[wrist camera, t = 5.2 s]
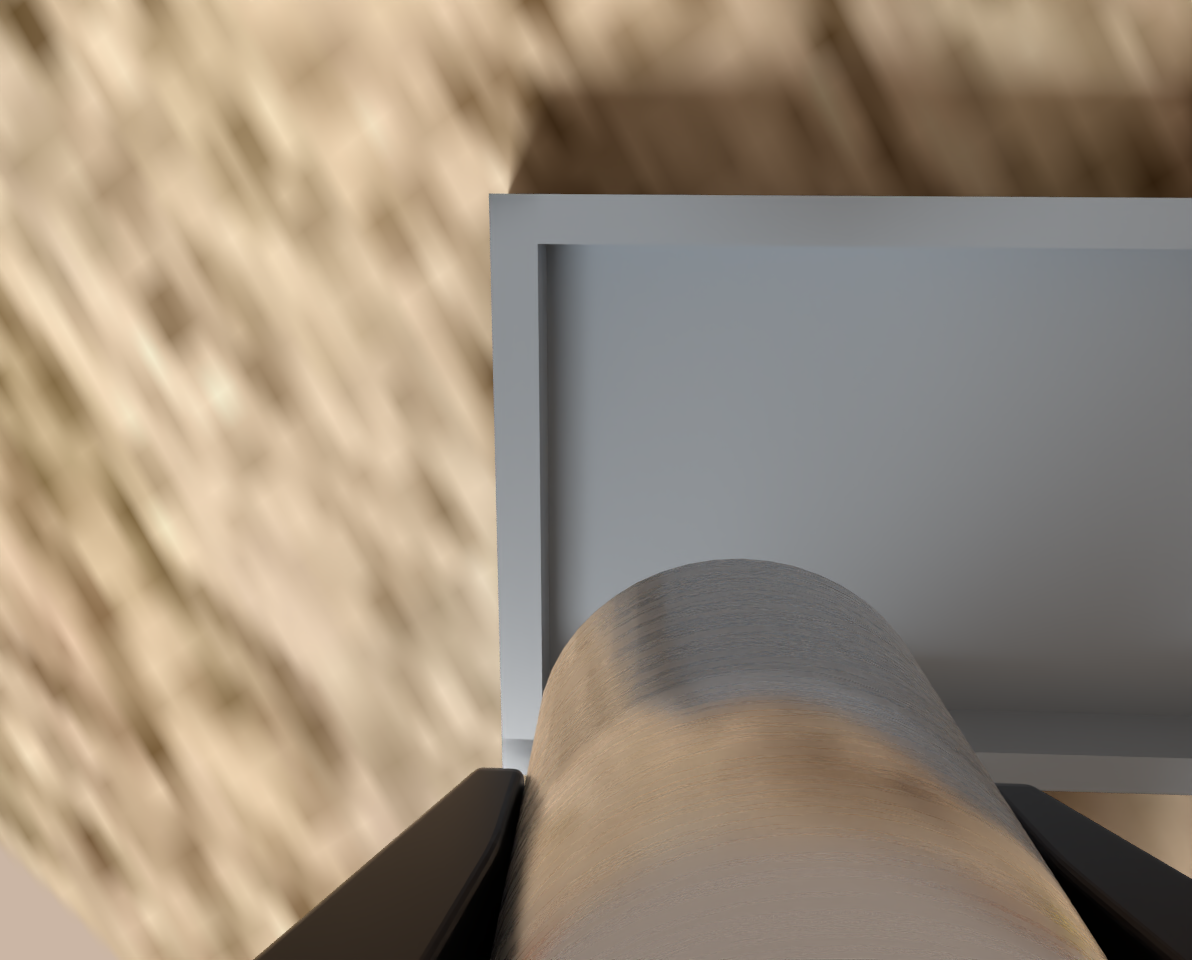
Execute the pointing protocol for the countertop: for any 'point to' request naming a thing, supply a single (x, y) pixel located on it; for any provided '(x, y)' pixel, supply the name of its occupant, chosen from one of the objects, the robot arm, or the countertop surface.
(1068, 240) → the parts tray
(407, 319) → the countertop surface
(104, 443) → the countertop surface
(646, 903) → the grey peg
